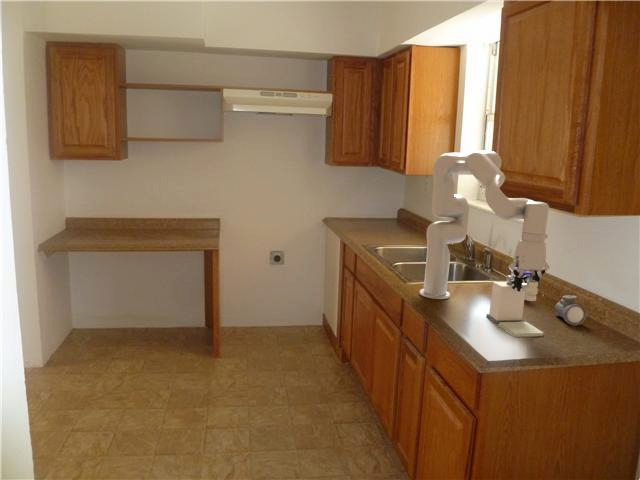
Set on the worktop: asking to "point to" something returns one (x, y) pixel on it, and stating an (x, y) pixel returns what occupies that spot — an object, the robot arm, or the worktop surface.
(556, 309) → the pipe fitting
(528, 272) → the ink cartridge box
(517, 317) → the pump housing
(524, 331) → the pad
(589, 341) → the worktop surface
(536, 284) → the valve
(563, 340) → the worktop surface
